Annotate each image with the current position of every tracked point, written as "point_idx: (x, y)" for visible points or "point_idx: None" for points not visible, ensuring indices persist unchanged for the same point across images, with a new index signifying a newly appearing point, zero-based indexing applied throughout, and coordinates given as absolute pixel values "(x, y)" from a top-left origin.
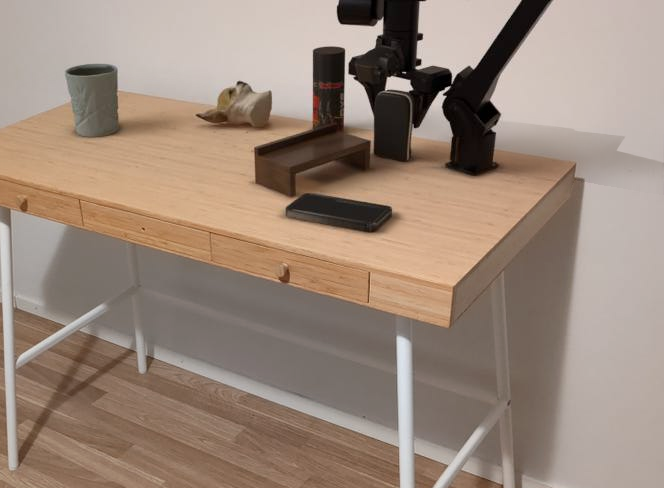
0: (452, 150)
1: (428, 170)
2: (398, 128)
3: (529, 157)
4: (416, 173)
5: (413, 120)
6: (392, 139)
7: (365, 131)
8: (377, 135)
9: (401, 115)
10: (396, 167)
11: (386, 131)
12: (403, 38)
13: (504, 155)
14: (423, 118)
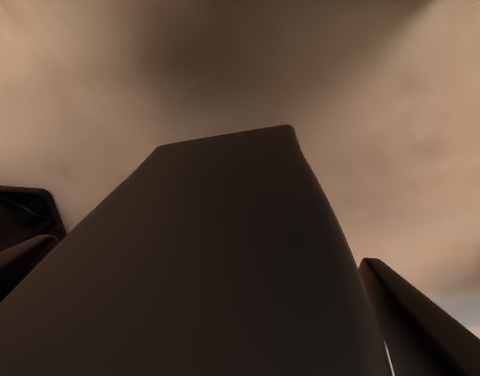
0: (18, 240)
1: (51, 138)
2: (137, 204)
3: None
4: (44, 86)
5: (3, 262)
6: (190, 167)
7: (451, 281)
8: (279, 157)
9: (69, 267)
10: (139, 86)
11: (222, 179)
12: None
13: None
14: None
